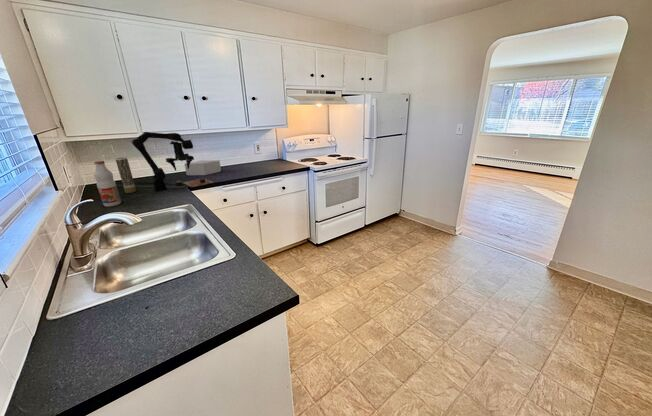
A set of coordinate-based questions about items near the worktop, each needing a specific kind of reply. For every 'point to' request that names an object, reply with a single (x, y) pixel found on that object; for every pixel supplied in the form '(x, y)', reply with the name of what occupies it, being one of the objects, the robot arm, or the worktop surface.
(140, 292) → the worktop surface
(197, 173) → the block
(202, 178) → the eye
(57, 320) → the worktop surface
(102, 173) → the fruit juice
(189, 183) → the face board
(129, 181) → the paper tube
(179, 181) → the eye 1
